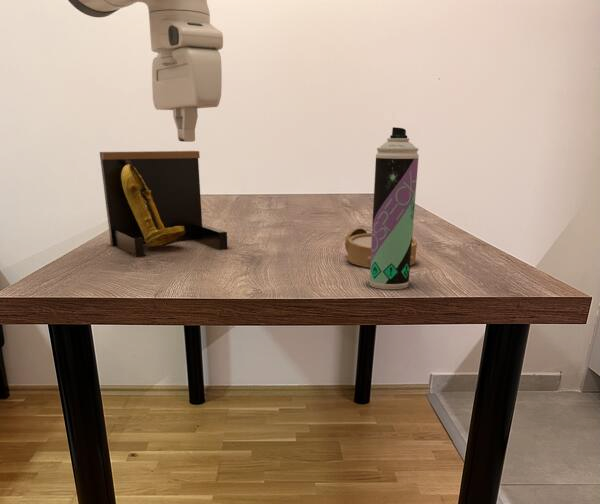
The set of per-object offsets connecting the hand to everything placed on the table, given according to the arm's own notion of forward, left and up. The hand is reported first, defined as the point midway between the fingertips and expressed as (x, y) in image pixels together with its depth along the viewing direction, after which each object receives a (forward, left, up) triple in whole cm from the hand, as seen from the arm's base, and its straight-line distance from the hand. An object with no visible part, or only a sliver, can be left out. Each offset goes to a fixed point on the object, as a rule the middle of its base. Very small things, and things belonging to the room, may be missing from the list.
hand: (186, 141), depth 100 cm
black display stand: (0, +12, -18) cm, 22 cm away
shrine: (-2, +12, -18) cm, 22 cm away
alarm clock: (+26, -17, -18) cm, 36 cm away
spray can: (+16, -33, -18) cm, 41 cm away
